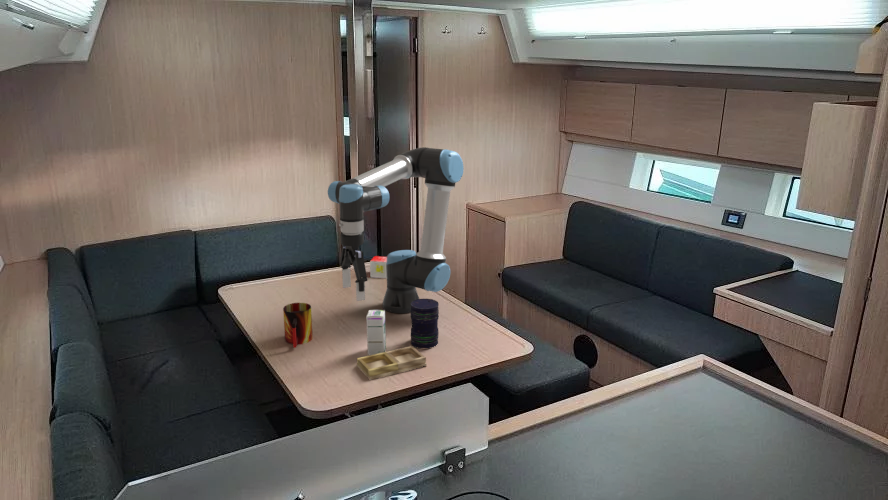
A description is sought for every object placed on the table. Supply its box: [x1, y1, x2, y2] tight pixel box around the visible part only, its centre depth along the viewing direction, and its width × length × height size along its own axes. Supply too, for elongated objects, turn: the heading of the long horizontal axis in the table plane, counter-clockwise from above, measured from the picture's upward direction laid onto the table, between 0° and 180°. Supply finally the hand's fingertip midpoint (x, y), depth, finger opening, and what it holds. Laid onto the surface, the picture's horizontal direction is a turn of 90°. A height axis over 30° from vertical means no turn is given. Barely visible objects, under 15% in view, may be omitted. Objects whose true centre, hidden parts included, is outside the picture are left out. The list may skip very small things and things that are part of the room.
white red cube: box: [369, 255, 387, 279], centre depth 299 cm, size 8×8×8 cm
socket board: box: [356, 345, 427, 381], centre depth 211 cm, size 20×11×3 cm, turn 120°
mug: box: [282, 302, 314, 349], centre depth 228 cm, size 10×14×12 cm
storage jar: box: [410, 298, 440, 349], centre depth 227 cm, size 10×10×15 cm
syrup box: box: [365, 309, 387, 356], centre depth 219 cm, size 6×6×14 cm
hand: (353, 293), depth 217 cm, fingers open, 13 cm apart
